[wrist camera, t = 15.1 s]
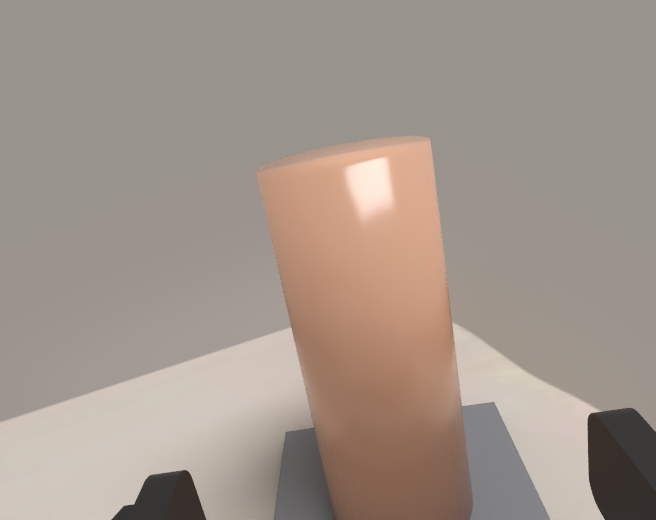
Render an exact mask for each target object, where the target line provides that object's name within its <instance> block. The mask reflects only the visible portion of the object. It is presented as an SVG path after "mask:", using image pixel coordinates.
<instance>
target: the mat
mask: <svg viewBox="0 0 656 520" xmlns="http://www.w3.org/2000/svg"><path fill="white" fill-rule="evenodd" d="M462 409H463V418H464V426H465V435H466V443H467V451H468V460H469V468H470V477H471V485H472V494H473V510H472V514H471V517H470V520H550V518H549V516H548V514H547V512H546V510H545V508H544V506H543V503H542V501H541V499H540V497H539V495H538V493H537V491H536V489H535V487H534V485H533V483H532V480H531V478H530V476H529V474H528V472H527V470H526V468H525V466H524V464H523V462H522V460H521V458H520V455H519V453H518V451H517V449H516V447H515V445H514V443H513V441H512V439H511V437H510V435H509V432H508V430H507V428H506V426H505V424H504V422H503V420H502V418H501V416H500V414H499V412H498V409H497V407H496V405H495V403H494V402H490V403H483V404H476V405H469V406H462ZM274 520H335V517H334V512H333V508H332V503H331V499H330V495H329V490H328V486H327V481H326V477H325V473H324V468H323V464H322V460H321V455H320V451H319V446H318V442H317V438H316V433H315V429H314V428H311V429H304V430H297V431H290V432H286V435H285V443H284V450H283V457H282V465H281V472H280V479H279V487H278V494H277V501H276V509H275V516H274Z"/></svg>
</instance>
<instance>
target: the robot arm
mask: <svg viewBox="0 0 656 520" xmlns="http://www.w3.org/2000/svg"><path fill="white" fill-rule="evenodd" d="M588 462H589V481H590V486H591V490H592V493H593V496H594V499H595V502H596V504H597V506H598V508H599V510H600V512H601V514H602V515H603V517H604V519H605V520H656V432H655V431H654V430H653V429H652V428H651V426H650V425H649V424H648V423H647V422H646V421H645V420H644V419H643V417H642V416H641V415H640V414H639V413H638V412H637V411H636V410H635V409H633V408H625V409H618V410H611V411H604V412H597V413H591V414H590V415H589V417H588ZM112 520H206V518H205V515H204V512H203V509H202V506H201V503H200V500H199V497H198V494H197V491H196V488H195V485H194V482H193V479H192V477H191V475H190V473H189V472H188V471H187V470H183V471H176V472H169V473H162V474H155V475H150V476H149V477H148V478H147V479H146V480H145V482H144V484H143V487H142V489H141V491H140V493H139V495H138V497H137V500H136V502H135V504H134V505H127V506H124V507H123V508H122V509H121V510H120V511H119V512H118V513H117V514H116V515H115V516H114V517H113V519H112Z"/></svg>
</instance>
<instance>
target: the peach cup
mask: <svg viewBox="0 0 656 520" xmlns="http://www.w3.org/2000/svg"><path fill="white" fill-rule="evenodd" d="M256 174H257V178H258V183H259V187H260V191H261V196H262V201H263V205H264V209H265V214H266V218H267V222H268V227H269V231H270V236H271V240H272V244H273V249H274V253H275V258H276V262H277V266H278V271H279V275H280V280H281V284H282V288H283V293H284V297H285V301H286V306H287V310H288V315H289V319H290V323H291V328H292V332H293V337H294V341H295V345H296V350H297V354H298V359H299V363H300V367H301V372H302V376H303V381H304V385H305V389H306V394H307V398H308V402H309V407H310V411H311V416H312V420H313V424H314V429H315V433H316V438H317V442H318V446H319V451H320V455H321V460H322V464H323V468H324V473H325V477H326V481H327V486H328V490H329V495H330V499H331V503H332V508H333V512H334V517H335V520H470V517H471V514H472V510H473V494H472V485H471V477H470V468H469V460H468V451H467V443H466V435H465V426H464V418H463V409H462V401H461V392H460V384H459V376H458V367H457V359H456V350H455V342H454V333H453V325H452V317H451V308H450V300H449V291H448V283H447V275H446V266H445V258H444V250H443V241H442V232H441V225H440V216H439V208H438V199H437V190H436V182H435V174H434V165H433V157H432V148H431V140H430V138H428V137H423V136H398V137H387V138H378V139H371V140H363V141H356V142H350V143H345V144H340V145H334V146H329V147H324V148H320V149H315V150H311V151H307V152H303V153H299V154H295V155H292V156H288V157H285V158H282V159H279V160H276V161H273V162H270V163H268V164H265V165H263V166H262V167H260V168H258V169H257V170H256Z"/></svg>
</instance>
